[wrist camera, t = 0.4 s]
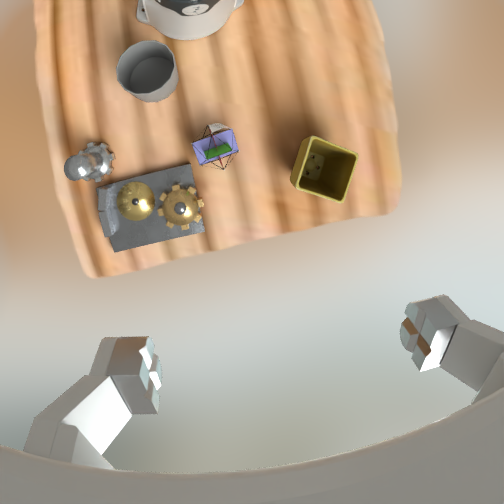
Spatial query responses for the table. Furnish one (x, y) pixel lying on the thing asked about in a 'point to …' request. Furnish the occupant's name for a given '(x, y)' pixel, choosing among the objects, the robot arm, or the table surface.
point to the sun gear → (180, 206)
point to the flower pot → (323, 169)
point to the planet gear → (90, 163)
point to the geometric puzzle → (215, 145)
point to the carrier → (142, 208)
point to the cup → (148, 71)
